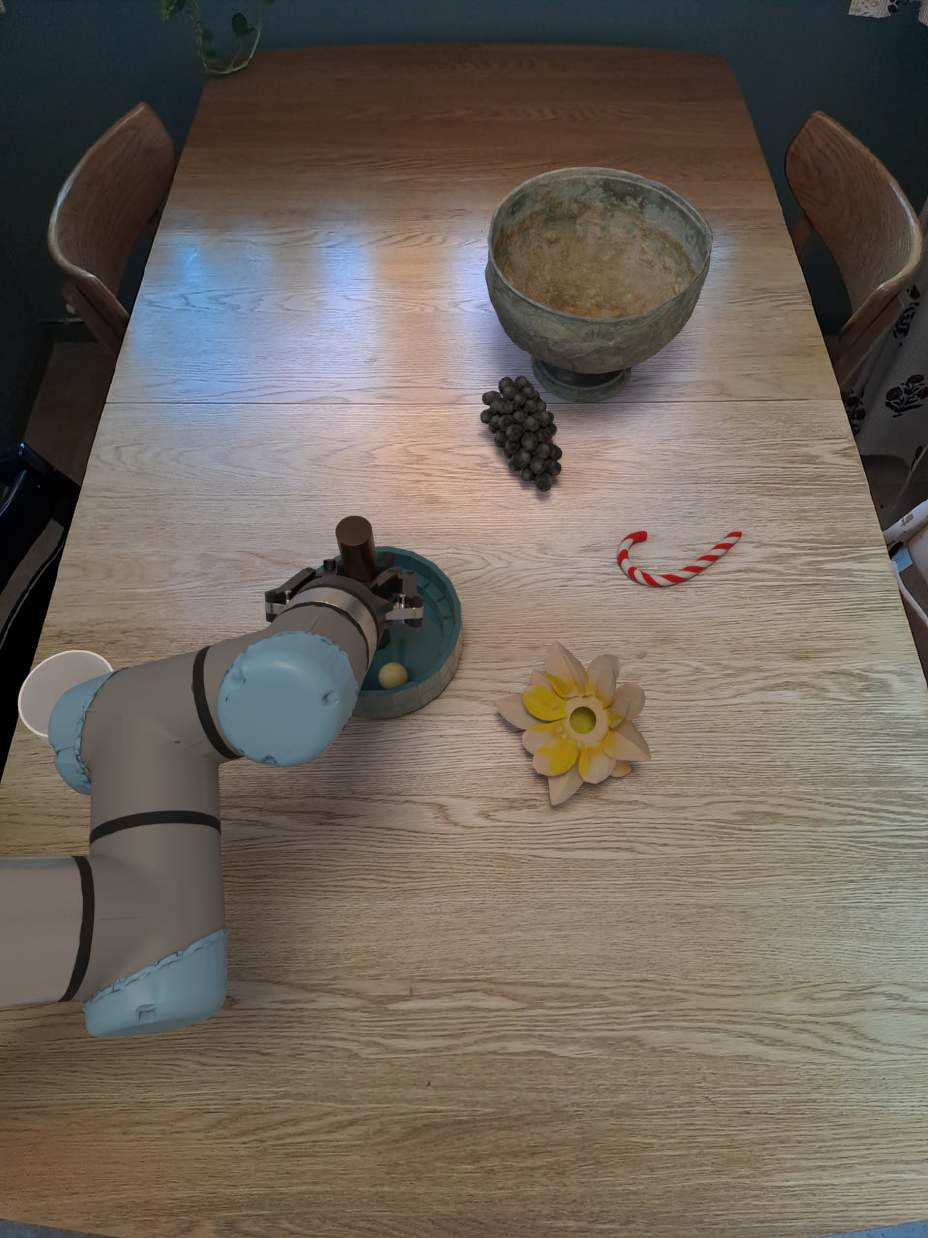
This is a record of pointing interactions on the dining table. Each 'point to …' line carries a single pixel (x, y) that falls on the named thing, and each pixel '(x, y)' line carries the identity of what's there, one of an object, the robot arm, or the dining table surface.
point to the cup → (56, 685)
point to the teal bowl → (415, 643)
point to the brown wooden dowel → (359, 554)
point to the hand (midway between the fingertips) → (371, 565)
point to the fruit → (512, 419)
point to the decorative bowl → (594, 274)
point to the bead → (392, 675)
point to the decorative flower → (578, 721)
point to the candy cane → (676, 576)
